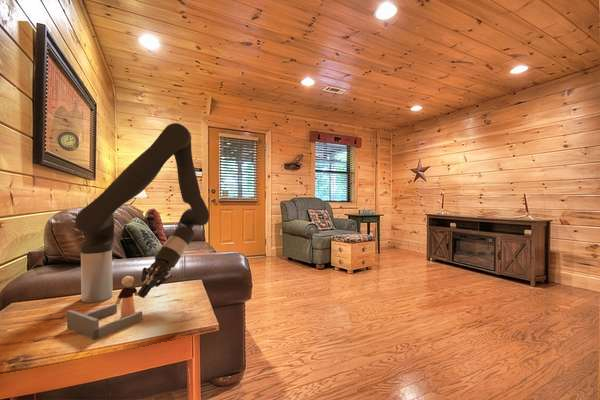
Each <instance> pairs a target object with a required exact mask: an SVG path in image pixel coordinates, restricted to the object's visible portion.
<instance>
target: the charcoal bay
mask: <svg viewBox="0 0 600 400" xmlns="http://www.w3.org/2000/svg"><path fill="white" fill-rule="evenodd" d="M116 313H118V305H117V304H116V303H114V304H110V305H107V306H104V307H101V308H99V309H95V310H92V311H89V312H86V313H81V312H79V311H76V310H73V309H70V310H67V311H66V324H67V325H66V328H67V330H70V331H73V332H75V333H77V334H80V335H82V336H84V337H87V338H89V339H91V340H94V341H95V340H98V339H101V338H102V337H105V336H108V335H111V334H112V333H113V334H114V333H115V332H117V331H120V330H122V329H124V328H127V327H130V326H132V325H134V324H137V323H140V322H141V321H143V311H141V310H140V311H137V312H135V314H132V315H129V316H127V317H124V318H122V319H120V318H119V319H117V320H114V321H111V322H108V323H106V324H104V325H101V326H100V324H99V323H100V321H99V319H101V318H104V317H107V316H110V315H112V314H116Z"/></svg>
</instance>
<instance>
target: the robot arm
mask: <svg viewBox="0 0 600 400" xmlns="http://www.w3.org/2000/svg"><path fill="white" fill-rule="evenodd" d="M173 156H174V159H175V164H176V169H177V171H176V172H177V178H178V180H177V182H178V186H179V191H180V194H181V199H182V202H183V203H185V204H188V205H189V206H190V208H187V209H186V210H185V211H184V212H182V214H181V216H180V219H179V221H178V223H177V225H176V229H175V230H174V231H173V232H172V234H171V235H170V236H169V237H168V238H167V240H166V241H164V243H163V245H161V247H160V249H158V251H157V253H156V254H155V256H154V261H153V263H151V265H150V266H149V267H146V266H145V267H143V268H142V272H141V279H140V281H141V282H142V286H141V287H140V289H139V290H137V293H138V295H137V296H138V297H139V298H143V299H144V298H146V297H147V295H148V294H149V292H150V291H151V290H152V289H154V287H156V288H158V287H159V286H161V285H163V284H164V283H165V282H167V281H169V279H171V278H172V277H173V274H171V270H172V269H174V268H175V267H176V265H177V264H178V262H179V261H180V260H181V258H182V256H183V255H184V254H185V252H186V249H187V247H188V246H189V245H190V243H191V242H192V240H193V239H194V237H195V231H194V229H193V228H194V227H195V226H196V227H197V226H199V227H201V226H205V225H207V224H208V223H209V219H210V212H209V209H208V206H207V205H206V203H205V200H204V198H203V197H202V194H201V193H202V192H201V189H200V185H199V181H198V177H197V173H196V170H195V166H194V165H195V164H194V161H193V160H194V159H193V153H192V134H191V132H190V130H189V129H188V127H186V126H185V125H184V124H182V123H180V122H172V123H170V124H168V125H167V126H165V128H164V129H163V130H162V132H161V133H160V134H159V135H158V137H157V138H156V139H155V140H154V142H153V143H152V144H151V145H150V146H149V147H148V148H146V149H145V151H143V152H142V153H141V154H139V155H138V156H137V157H136V158H135V159H134V160H133V161H132V162H131V163H130V164H129V165H128V166H127V167H126V168H124V169H123V171H122V172H121V173H120V174H119V175H118V176H117V177H116V178H115V179H114V180H113V181H112V182H111V183H110V184H109V185H108V186H107V188H106V189H105V190H104V191H102V193H101V194H100V195H99V196H97V197H96V198H95V199H94V200H93V201H91V202H90V203H89V204H88V205H86V206H84V207H83V209H81V210H80V211H79V212H78V214H77V215H76V217H75V220H74V225H75V228H76V229H77V230H78V231H79V232H81V233H83V234H86V235H85V236H86V237H85V239H84V241H83V242H82V244H80V287H81V288H80V292H81V293H80V295H81V299H80V300H81V302H82V303H90V304H91V303H97V302H101V301H106V300H108V299H110V298H112V297H113V294H114V293H113V247H112V246H113V243H114V241H115V240H114V239H115V216H114V214H115V212H116V211H117V210H118V209H119V208H120V207H121V206H123V205H125V204H126V203H128V202H129V201H131V200H132V199H135V197H137V196H138V195H139V194H141V193H142V192H143V191H144V190H145V189H146V188H147V187H148V186H149V185H150V184H151V183H152V182H153V180H155V178H156V177H157V176H158V175H159V174H160V172H161V170H162V168H163V167H164V165H165V164H166V162H168V161H169V159H170V158H171V157H173Z"/></svg>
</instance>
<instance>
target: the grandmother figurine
mask: <svg viewBox="0 0 600 400" xmlns="http://www.w3.org/2000/svg"><path fill="white" fill-rule="evenodd" d="M134 278H135V277H133V276H132V275H126V276H124V277H123V278H122V280H121V285H122V286H123V288H122V289H121V291H120V292H119V294H118V296H117V299H116V301H115V304H117V306H118V305H119V304H120V303H121V306H120V317H119V319H122V318H124V317H127V316H129V315H132V314H135V313H136V309H135V303H134V296H135V297H136V296H138V290H137V288H136V287H134V286H133V284H134V281H135V279H134ZM121 301H122V302H121Z"/></svg>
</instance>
